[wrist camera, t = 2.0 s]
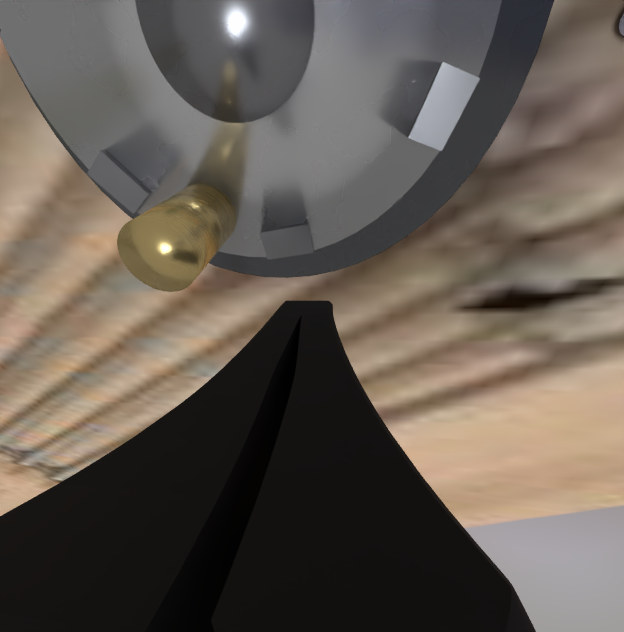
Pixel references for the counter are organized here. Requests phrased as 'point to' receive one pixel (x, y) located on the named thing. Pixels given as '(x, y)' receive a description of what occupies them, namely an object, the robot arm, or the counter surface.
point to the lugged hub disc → (248, 113)
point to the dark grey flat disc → (444, 171)
